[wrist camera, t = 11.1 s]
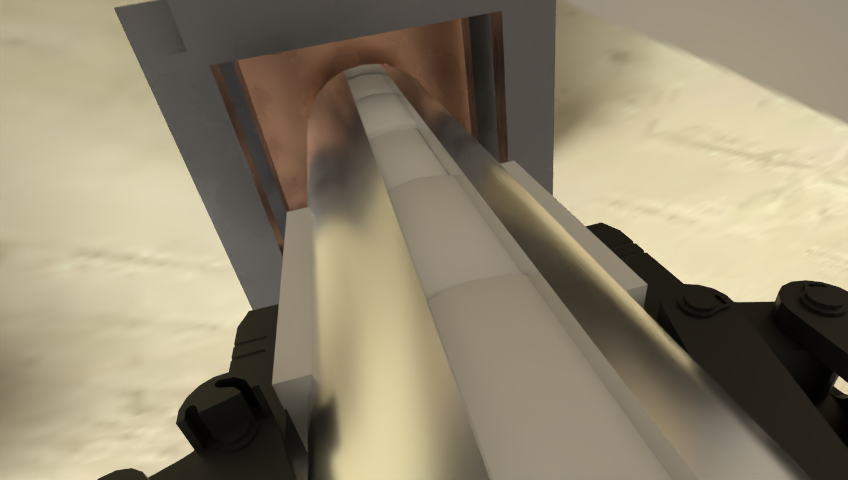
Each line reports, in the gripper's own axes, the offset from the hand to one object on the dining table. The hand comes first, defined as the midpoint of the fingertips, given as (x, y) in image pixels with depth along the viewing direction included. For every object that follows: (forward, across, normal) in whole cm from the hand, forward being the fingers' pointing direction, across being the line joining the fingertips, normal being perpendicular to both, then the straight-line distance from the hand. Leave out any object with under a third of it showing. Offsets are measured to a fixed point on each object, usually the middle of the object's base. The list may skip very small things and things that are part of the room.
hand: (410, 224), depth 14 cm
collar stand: (+13, 0, 0) cm, 13 cm away
